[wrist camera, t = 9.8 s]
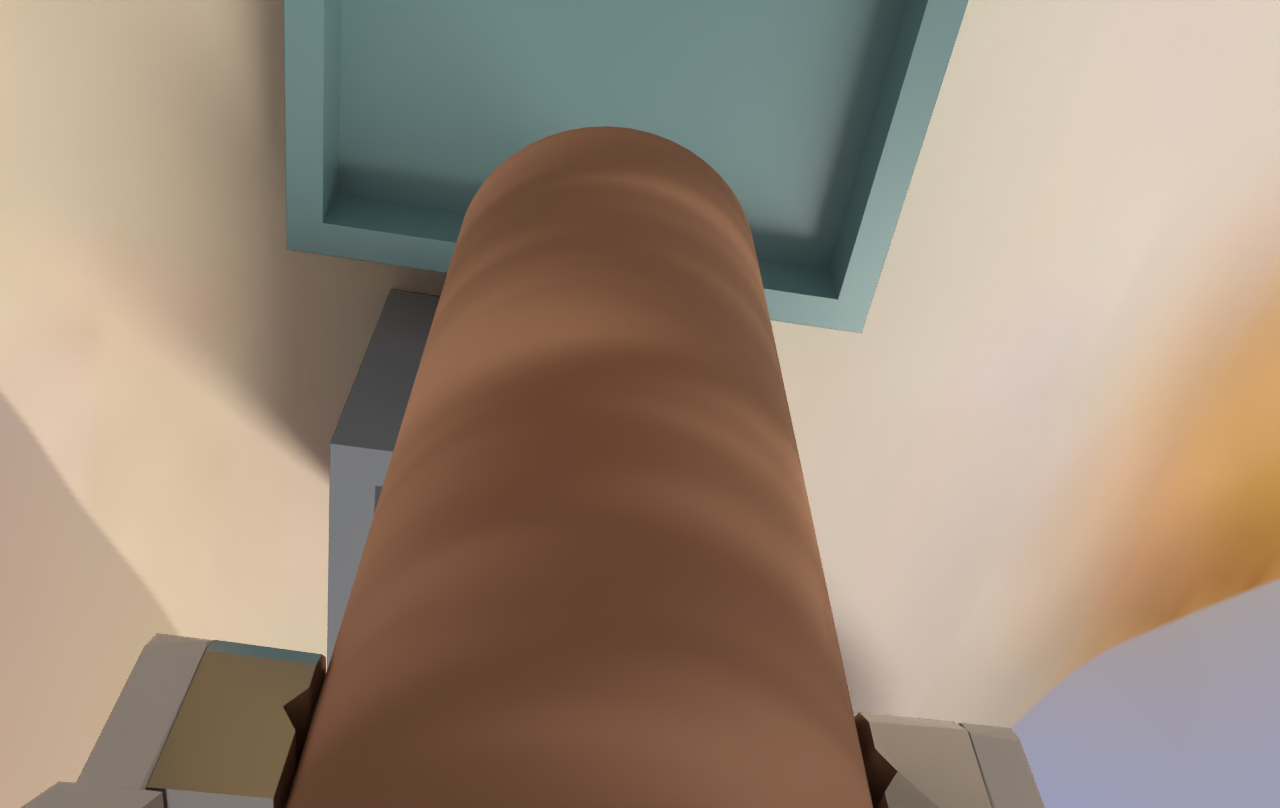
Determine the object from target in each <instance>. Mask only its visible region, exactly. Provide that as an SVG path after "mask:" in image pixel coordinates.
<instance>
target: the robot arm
mask: <svg viewBox="0 0 1280 808" xmlns="http://www.w3.org/2000/svg"><path fill="white" fill-rule="evenodd" d="M325 676H326V658H325V656H323V655H322V654H315V653H307V652H300V651H293V650H285V649H278V648H271V647H263V646H256V645H248V644H241V643H234V642H226V641H219V640H206V639H199V638H191V637H183V636H176V635H168V634H160V633H157V634H156V635H155V636H154V637H153V638H152V639H151V640H150V641H149V642H148V643H147V644H146V645H145V646H144V648H143V650H142V652H141V654H140V656H139V658H138V660H137V662H136V664H135V666H134V668H133V670H132V672H131V674H130V676H129V678H128V680H127V682H126V684H125V686H124V688H123V690H122V692H121V694H120V696H119V698H118V700H117V702H116V704H115V706H114V708H113V710H112V712H111V714H110V716H109V718H108V720H107V722H106V724H105V726H104V728H103V730H102V732H101V734H100V736H99V738H98V740H97V742H96V744H95V746H94V748H93V750H92V752H91V754H90V756H89V758H88V760H87V762H86V764H85V766H84V768H83V770H82V772H81V774H80V776H79V778H78V780H77V782H76V783H74V782H60V781H59V782H57V783H55V784H54V785H52V786H51V787H50V788H48V789H47V790H45V791H44V792H42V793H41V794H40V795H38V796H37V797H35V798H34V799H32V800H31V801H30V802H28V803H27V804H25V805H24V806H22V807H21V808H286V805H287V801H288V798H289V795H290V791H291V788H292V785H293V781H294V778H295V775H296V771H297V768H298V765H299V761H300V758H301V755H302V752H303V748H304V745H305V742H306V738H307V735H308V732H309V729H310V725H311V722H312V719H313V715H314V712H315V709H316V705H317V702H318V699H319V696H320V692H321V689H322V686H323V682H324V679H325ZM854 720H855V724H856V729H857V734H858V738H859V743H860V748H861V753H862V757H863V762H864V767H865V772H866V776H867V781H868V786H869V791H870V795H871V800H872V805H873V808H1045V807H1044V804H1043V802H1042V799H1041V796H1040V793H1039V791H1038V788H1037V785H1036V783H1035V780H1034V777H1033V774H1032V772H1031V769H1030V766H1029V764H1028V761H1027V758H1026V756H1025V753H1024V750H1023V747H1022V745H1021V742H1020V739H1019V737H1018V736H1017V735H1016V734H1015V733H1014V732H1013V731H1012V729H1011V728H1004V727H994V726H985V725H975V724H966V723H958V724H957V723H955V722H953V721H942V720H932V719H922V718H912V717H901V716H891V715H881V714H871V713H861V712H859V713H858V714H857V715H856V716H855V717H854Z"/></svg>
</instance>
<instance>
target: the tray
mask: <svg viewBox="0 0 1280 808" xmlns="http://www.w3.org/2000/svg"><path fill="white" fill-rule="evenodd" d="M967 3H968V0H284V42H285V130H286V217H287V250H293V251H300V252H307V253H314V254H321V255H328V256H334V257H341V258H348V259H355V260H362V261H369V262H376V263H382V264H389V265H396V266H403V267H410V268H417V269H424V270H430V271H437V272H444V273H447V272H448V269H449V266H450V262H451V259H452V256H453V253H454V249H455V246H456V243H457V239H458V236H459V233H460V229H461V226H462V223H463V220H464V217H465V214H466V212H467V210H468V207H469V205H470V203H471V201H472V199H473V197H474V196H475V194H476V193H477V191H478V190H479V188H480V187H481V185H482V184H483V182H484V181H485V180H486V179H487V178H488V177H489V176H490V175H491V174H492V172H493V171H494V170H495V169H496V168H497V167H498V166H499V165H501V164H502V163H503V162H504V161H505V160H507V159H508V158H509V157H510V156H512V155H513V154H515V153H516V152H518V151H519V150H521V149H523V148H524V147H526V146H527V145H529V144H531V143H534V142H536V141H538V140H540V139H543V138H545V137H547V136H550V135H553V134H557V133H560V132H563V131H567V130H572V129H579V128H585V127H602V126H611V127H622V128H631V129H636V130H640V131H644V132H649V133H652V134H655V135H658V136H661V137H663V138H666V139H669V140H671V141H673V142H675V143H677V144H679V145H681V146H683V147H685V148H686V149H688V150H690V151H691V152H693V153H694V154H695V155H697V156H698V157H700V158H701V159H703V160H704V161H705V162H706V163H707V164H709V165H710V166H711V167H712V168H713V169H714V170H715V171H716V172H717V173H718V174H719V175H720V176H721V177H722V178H723V180H724V181H725V182H726V183H727V184H728V186H729V187H730V188H731V189H732V191H733V193H734V194H735V196H736V197H737V199H738V201H739V202H740V204H741V206H742V208H743V210H744V213H745V215H746V217H747V220H748V222H749V226H750V230H751V233H752V237H753V241H754V246H755V251H756V255H757V260H758V265H759V269H760V274H761V279H762V284H763V288H764V293H765V298H766V303H767V307H768V312H769V317H770V320H773V321H780V322H787V323H794V324H800V325H807V326H814V327H821V328H828V329H835V330H842V331H848V332H855V333H862V331H863V328H864V324H865V321H866V318H867V315H868V312H869V309H870V306H871V303H872V299H873V296H874V293H875V290H876V287H877V284H878V281H879V278H880V275H881V271H882V268H883V265H884V262H885V259H886V256H887V253H888V250H889V246H890V243H891V240H892V237H893V234H894V231H895V228H896V225H897V222H898V218H899V215H900V212H901V209H902V206H903V203H904V200H905V197H906V193H907V190H908V187H909V184H910V181H911V178H912V175H913V172H914V169H915V165H916V162H917V159H918V156H919V153H920V150H921V147H922V144H923V140H924V137H925V134H926V131H927V128H928V125H929V122H930V119H931V116H932V112H933V109H934V106H935V103H936V100H937V97H938V94H939V91H940V87H941V84H942V81H943V78H944V75H945V72H946V69H947V66H948V63H949V59H950V56H951V53H952V50H953V47H954V44H955V41H956V38H957V35H958V31H959V28H960V25H961V22H962V19H963V16H964V13H965V10H966V6H967Z"/></svg>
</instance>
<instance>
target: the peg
mask: <svg viewBox="0 0 1280 808" xmlns="http://www.w3.org/2000/svg"><path fill="white" fill-rule="evenodd" d="M286 808H873V805H872V800H871V795H870V791H869V786H868V781H867V776H866V772H865V767H864V762H863V757H862V753H861V748H860V743H859V738H858V734H857V729H856V724H855V720H854V715H853V710H852V705H851V701H850V696H849V691H848V686H847V682H846V677H845V672H844V667H843V663H842V658H841V653H840V648H839V644H838V639H837V634H836V630H835V625H834V620H833V615H832V611H831V606H830V601H829V596H828V592H827V587H826V582H825V577H824V573H823V568H822V563H821V558H820V554H819V549H818V544H817V540H816V535H815V530H814V525H813V521H812V516H811V511H810V506H809V502H808V497H807V492H806V487H805V483H804V478H803V473H802V468H801V464H800V459H799V454H798V449H797V445H796V440H795V435H794V431H793V426H792V421H791V416H790V412H789V407H788V402H787V397H786V393H785V388H784V383H783V378H782V374H781V369H780V364H779V359H778V355H777V350H776V345H775V341H774V336H773V331H772V326H771V322H770V317H769V312H768V307H767V303H766V298H765V293H764V288H763V284H762V279H761V274H760V269H759V265H758V260H757V255H756V251H755V246H754V241H753V237H752V233H751V230H750V226H749V222H748V220H747V217H746V215H745V213H744V210H743V208H742V206H741V204H740V202H739V201H738V199H737V197H736V196H735V194H734V193H733V191H732V189H731V188H730V187H729V186H728V184H727V183H726V182H725V181H724V180H723V178H722V177H721V176H720V175H719V174H718V173H717V172H716V171H715V170H714V169H713V168H712V167H711V166H710V165H709V164H707V163H706V162H705V161H704V160H703V159H701V158H700V157H698V156H697V155H695V154H694V153H693V152H691V151H690V150H688V149H686V148H685V147H683V146H681V145H679V144H677V143H675V142H673V141H671V140H669V139H666V138H663V137H661V136H658V135H655V134H652V133H649V132H644V131H640V130H636V129H631V128H622V127H611V126H602V127H585V128H579V129H572V130H567V131H563V132H560V133H557V134H553V135H550V136H547V137H545V138H543V139H540V140H538V141H536V142H534V143H531V144H529V145H527V146H526V147H524V148H523V149H521V150H519V151H518V152H516V153H515V154H513V155H512V156H510V157H509V158H508V159H507V160H505V161H504V162H503V163H502V164H501V165H499V166H498V167H497V168H496V169H495V170H494V171H493V172H492V174H491V175H490V176H489V177H488V178H487V179H486V180H485V181H484V182H483V184H482V185H481V187H480V188H479V190H478V191H477V193H476V194H475V196H474V197H473V199H472V201H471V203H470V205H469V207H468V210H467V212H466V214H465V217H464V220H463V223H462V226H461V229H460V233H459V236H458V239H457V243H456V246H455V249H454V253H453V256H452V259H451V262H450V266H449V269H448V272H447V276H446V279H445V282H444V286H443V289H442V292H441V296H440V299H439V302H438V305H437V309H436V312H435V315H434V319H433V322H432V325H431V329H430V332H429V335H428V338H427V342H426V345H425V348H424V352H423V355H422V358H421V362H420V365H419V368H418V372H417V375H416V378H415V381H414V385H413V388H412V391H411V395H410V398H409V401H408V405H407V408H406V411H405V414H404V418H403V421H402V424H401V428H400V431H399V434H398V438H397V441H396V444H395V448H394V451H393V454H392V457H391V461H390V464H389V467H388V471H387V474H386V477H385V481H384V484H383V487H382V490H381V494H380V497H379V500H378V504H377V507H376V510H375V514H374V517H373V520H372V524H371V527H370V530H369V533H368V537H367V540H366V543H365V547H364V550H363V553H362V557H361V560H360V563H359V567H358V570H357V573H356V576H355V580H354V583H353V586H352V590H351V593H350V596H349V600H348V603H347V606H346V609H345V613H344V616H343V619H342V623H341V626H340V629H339V633H338V636H337V639H336V643H335V646H334V649H333V652H332V656H331V659H330V662H329V666H328V669H327V672H326V676H325V679H324V682H323V686H322V689H321V692H320V696H319V699H318V702H317V705H316V709H315V712H314V715H313V719H312V722H311V725H310V729H309V732H308V735H307V738H306V742H305V745H304V748H303V752H302V755H301V758H300V761H299V765H298V768H297V771H296V775H295V778H294V781H293V785H292V788H291V791H290V795H289V798H288V801H287V805H286Z"/></svg>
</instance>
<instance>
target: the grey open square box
mask: <svg viewBox="0 0 1280 808" xmlns="http://www.w3.org/2000/svg"><path fill="white" fill-rule="evenodd" d="M439 299H440V296H433V295H426V294H419V293H412V292H405V291H398V290H390V292H389V295H388V297H387V300H386V302H385V305H384V308H383V310H382V313H381V315H380V318H379V320H378V323H377V325H376V328H375V331H374V333H373V336H372V338H371V341H370V343H369V346H368V348H367V351H366V354H365V356H364V359H363V361H362V364H361V366H360V369H359V371H358V374H357V377H356V379H355V382H354V384H353V387H352V389H351V392H350V394H349V397H348V399H347V402H346V405H345V407H344V410H343V412H342V415H341V417H340V420H339V422H338V425H337V428H336V430H335V433H334V435H333V438H332V440H331V443H330V495H329V566H328V638H327V669H328V666H329V662H330V659H331V656H332V652H333V649H334V646H335V643H336V639H337V636H338V633H339V629H340V626H341V623H342V619H343V616H344V613H345V609H346V606H347V603H348V600H349V596H350V593H351V590H352V586H353V583H354V580H355V576H356V573H357V570H358V567H359V563H360V560H361V557H362V553H363V550H364V547H365V543H366V540H367V537H368V533H369V530H370V527H371V524H372V520H373V517H374V514H375V510H376V507H377V504H378V500H379V497H380V494H381V490H382V487H383V484H384V481H385V477H386V474H387V471H388V467H389V464H390V461H391V457H392V454H393V451H394V448H395V444H396V441H397V438H398V434H399V431H400V428H401V424H402V421H403V418H404V414H405V411H406V408H407V405H408V401H409V398H410V395H411V391H412V388H413V385H414V381H415V378H416V375H417V372H418V368H419V365H420V362H421V358H422V355H423V352H424V348H425V345H426V342H427V338H428V335H429V332H430V329H431V325H432V322H433V319H434V315H435V312H436V309H437V305H438V302H439Z"/></svg>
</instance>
